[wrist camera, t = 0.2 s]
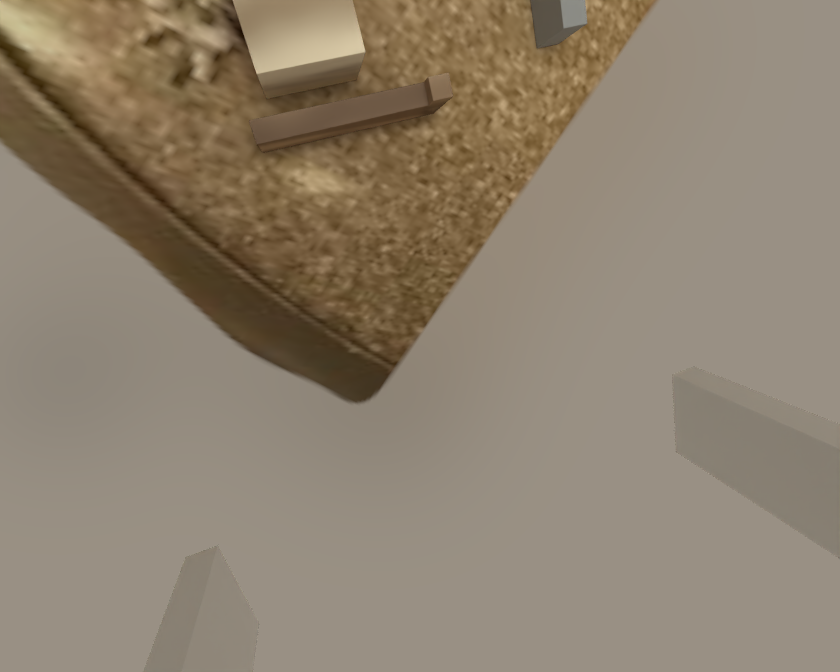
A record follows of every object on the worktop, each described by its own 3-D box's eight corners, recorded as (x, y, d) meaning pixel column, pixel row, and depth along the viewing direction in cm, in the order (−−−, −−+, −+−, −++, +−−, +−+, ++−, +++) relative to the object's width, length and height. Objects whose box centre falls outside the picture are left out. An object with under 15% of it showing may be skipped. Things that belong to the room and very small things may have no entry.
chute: (187, -71, 28) (160, -132, 23) (388, -100, 30) (403, -162, 25) (263, 152, 32) (254, 141, 27) (433, 113, 34) (453, 96, 30)
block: (230, -11, 29) (211, -65, 24) (328, -28, 30) (332, -83, 25) (266, 99, 31) (256, 73, 26) (356, 80, 33) (365, 52, 27)
